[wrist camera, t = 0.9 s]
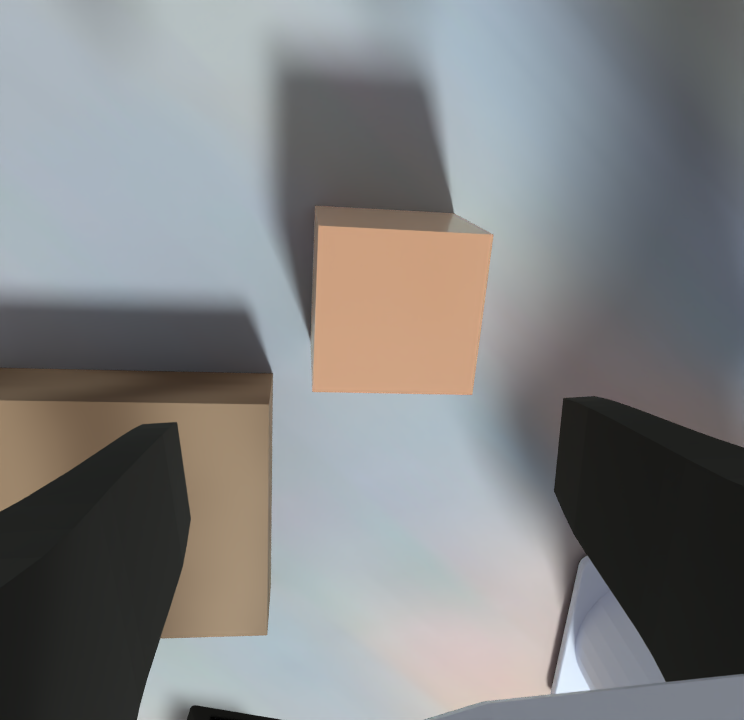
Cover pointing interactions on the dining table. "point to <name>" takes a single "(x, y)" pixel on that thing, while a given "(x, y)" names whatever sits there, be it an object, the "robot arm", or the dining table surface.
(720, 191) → the dining table surface
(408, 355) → the terracotta cube
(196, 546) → the walnut slab
